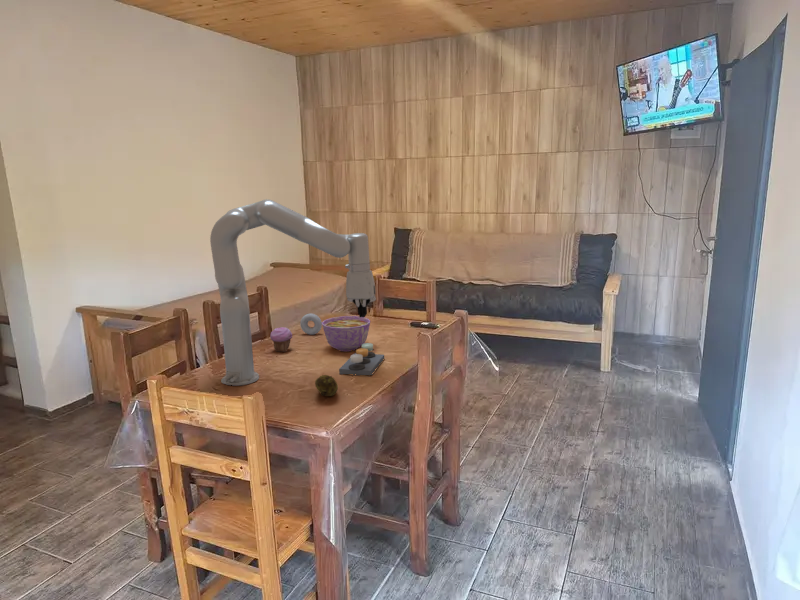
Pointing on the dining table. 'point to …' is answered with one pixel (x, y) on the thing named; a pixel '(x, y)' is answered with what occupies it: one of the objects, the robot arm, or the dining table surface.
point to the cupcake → (281, 339)
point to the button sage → (368, 346)
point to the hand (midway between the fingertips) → (362, 316)
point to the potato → (326, 385)
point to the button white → (356, 358)
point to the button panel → (362, 365)
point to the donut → (311, 330)
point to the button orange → (362, 352)
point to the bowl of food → (346, 332)
